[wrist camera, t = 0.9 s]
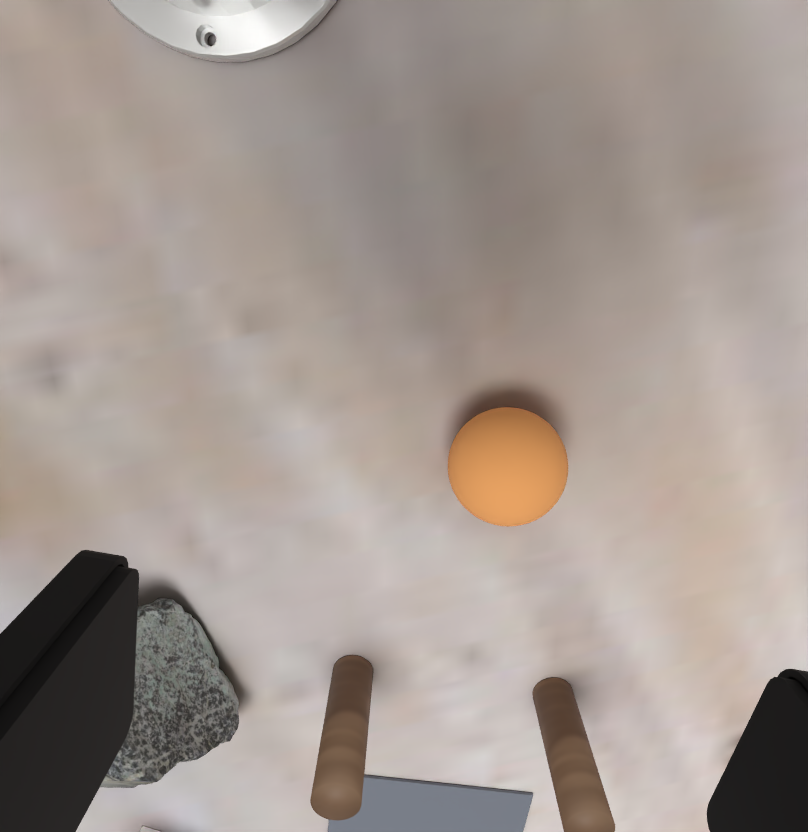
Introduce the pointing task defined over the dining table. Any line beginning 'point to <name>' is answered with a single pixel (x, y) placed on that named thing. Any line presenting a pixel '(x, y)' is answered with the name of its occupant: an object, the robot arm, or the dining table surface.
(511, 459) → the ball
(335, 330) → the dining table surface
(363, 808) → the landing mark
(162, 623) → the stone
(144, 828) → the headphone stand
